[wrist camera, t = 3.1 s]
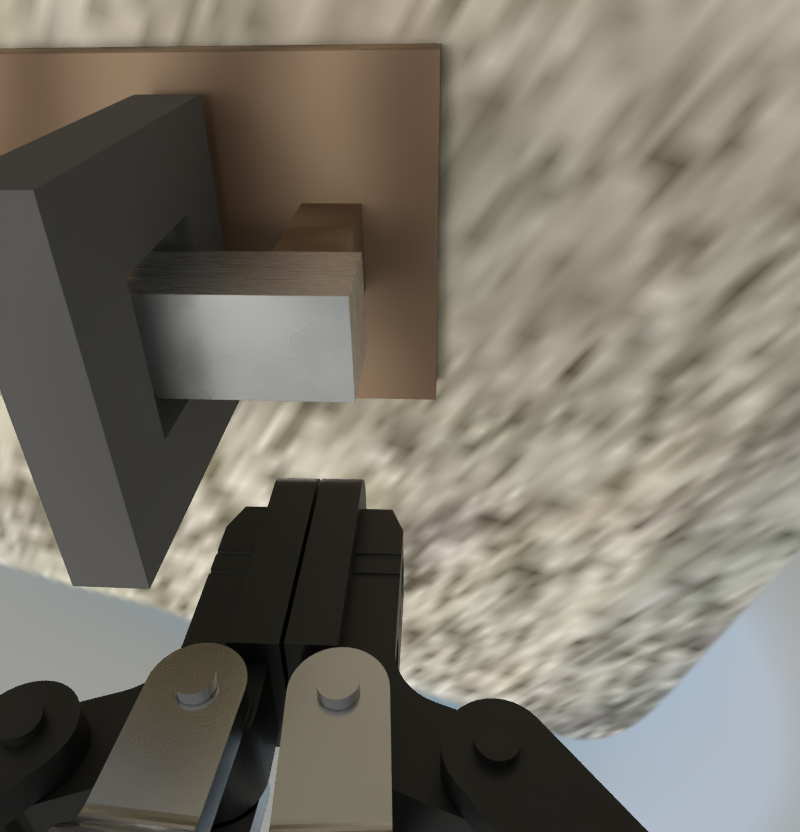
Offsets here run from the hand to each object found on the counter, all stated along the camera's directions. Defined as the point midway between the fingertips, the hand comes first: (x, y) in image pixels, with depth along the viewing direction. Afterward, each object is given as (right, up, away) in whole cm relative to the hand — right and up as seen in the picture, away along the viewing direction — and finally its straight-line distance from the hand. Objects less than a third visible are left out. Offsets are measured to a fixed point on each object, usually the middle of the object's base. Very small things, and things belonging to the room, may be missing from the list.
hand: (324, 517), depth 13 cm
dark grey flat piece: (-5, +7, +11) cm, 14 cm away
